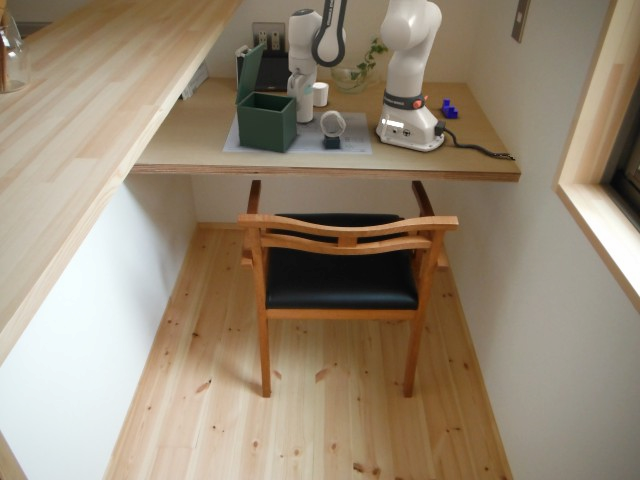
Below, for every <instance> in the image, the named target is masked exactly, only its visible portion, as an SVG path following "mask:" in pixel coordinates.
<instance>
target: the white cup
mask: <svg viewBox="0 0 640 480" xmlns="http://www.w3.org/2000/svg"><path fill="white" fill-rule="evenodd" d="M329 86H330V85H329V84H328V83H327V82H322V81H318V82H317V81H316V82H315V84H314V85H313V86H312V87H311V88H312V89H313V107H317V108H318V107H319V108H321V107H325V106H327V103H328V94H329Z"/></svg>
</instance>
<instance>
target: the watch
mask: <svg viewBox="0 0 640 480" xmlns="http://www.w3.org/2000/svg"><path fill="white" fill-rule="evenodd" d="M330 115H334V116H335V118H336V120H337V123H338V124H339V126H340V127H341V128H340V129H339V130H338V131H327V130H326V128H325V127H324V124H323V123H324V122H323V121H324V119H325V118H326V117H328V116H330ZM319 126H320V128H321V131H322V133H323V143H324V147H325V150H339V149H340V147H341V138H340V136H341V135H342V134H344V132H345V129H346V127H347V124H346V121H345V120H344V117H343V115H342V114H341V113H340V111H337V110H327V111H325V112H324V113H323V114H322V115H321V117H320V119H319Z"/></svg>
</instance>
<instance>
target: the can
mask: <svg viewBox="0 0 640 480" xmlns="http://www.w3.org/2000/svg"><path fill="white" fill-rule="evenodd" d="M300 105H301V109H300V111H297V123H298V124H299V123H300V124H305V123H309V122H310V121H312V120H313V119H314V105H313V89H312V88H311V85H310V84H309V86H308V87H307V88H306V89H305V92H304V96H303V97H302V98H301V99H300Z"/></svg>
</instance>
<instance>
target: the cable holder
mask: <svg viewBox="0 0 640 480" xmlns="http://www.w3.org/2000/svg"><path fill="white" fill-rule="evenodd" d="M441 111H442V112H443V114H444V115H445V117H446V119H458V114H459V111H458V109H456V108H455V106H454V105H451V99H450V98H443V100H442V106H441Z"/></svg>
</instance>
